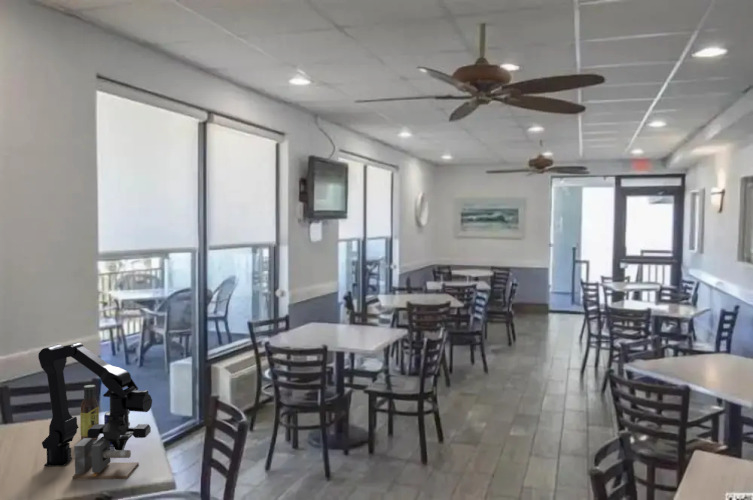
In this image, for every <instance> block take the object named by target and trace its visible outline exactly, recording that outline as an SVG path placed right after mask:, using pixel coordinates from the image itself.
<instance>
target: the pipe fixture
mask: <svg viewBox="0 0 753 500" xmlns="http://www.w3.org/2000/svg"><path fill="white" fill-rule="evenodd" d="M93 444H94V440H93V438H84V439H82V440H81V439H80V441H79V442H78V443H77V444H75V445H74V474H73V475H72V476H71V477H72V478H71V479H72V480H127V479H128V478H130V476H131V475H132V474H133V473H134V471H136V469H137V468H138V467H139V466H140V465H139V464H140V463H139V462H134V461H133V462H110V463H109V464H108V465H107V466H106V467H105V468H104V469H103V470H102V471H101V472H92V445H93ZM131 455H132V452H131V449H124V450H115V449H110V450H103V458H110V459H118V458H119V459H130V458H131Z"/></svg>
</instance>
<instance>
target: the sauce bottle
mask: <svg viewBox="0 0 753 500" xmlns="http://www.w3.org/2000/svg"><path fill="white" fill-rule="evenodd" d="M83 397H84V399H83V400H82V401H81V403H80V414H79V415H80V441H81V440H82V439H84V438H88V437H87V432H88V430H89V429H90V428H91V427H92V426H94V425H95V424H100V406H99V404H98V400H97V399H96V385H95V384H88V385H84V386H83ZM97 439H99V436H98V437H97V438H93V441H94V440H97Z"/></svg>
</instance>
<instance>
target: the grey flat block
mask: <svg viewBox="0 0 753 500" xmlns="http://www.w3.org/2000/svg"><path fill="white" fill-rule="evenodd" d="M103 450H111V448H110V441H109V440H105V439H104V436H103V435H102V437H100V438H98V440H97V441H96V442H95V443H93V445H92V472H101V471H102V470H103V469H104V468H105V467H106V466H107V465H108V464H109V463H111V458H103Z"/></svg>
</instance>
